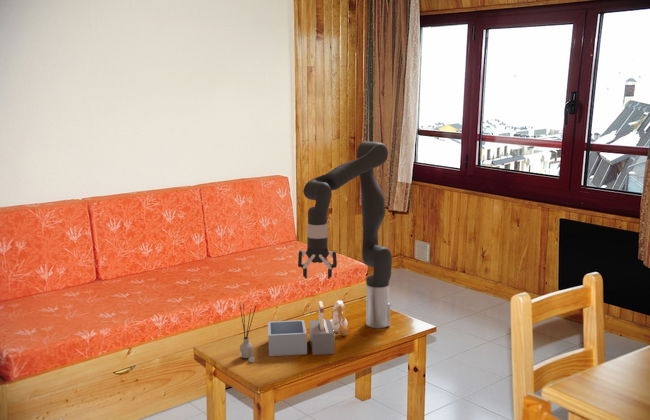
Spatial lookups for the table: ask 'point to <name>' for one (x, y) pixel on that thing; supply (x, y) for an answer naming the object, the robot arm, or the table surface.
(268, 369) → the table surface
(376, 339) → the table surface
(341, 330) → the figurine
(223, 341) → the table surface
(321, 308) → the ticket
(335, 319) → the white creature statuette
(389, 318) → the robot arm
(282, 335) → the bin
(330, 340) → the dispenser
